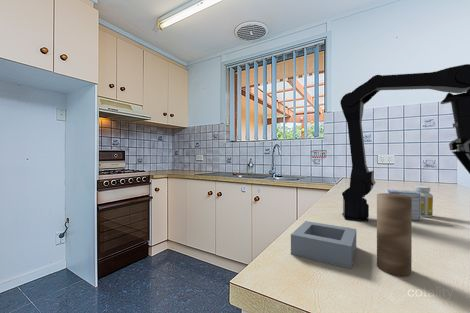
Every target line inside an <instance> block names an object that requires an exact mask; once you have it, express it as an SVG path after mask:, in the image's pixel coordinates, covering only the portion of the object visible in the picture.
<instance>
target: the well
mask: <svg viewBox="0 0 470 313" xmlns="http://www.w3.org/2000/svg"><path fill="white" fill-rule="evenodd" d="M356 251H357V228H352V227H345V226H340V225H334V224H327V223H321V222H315V221H309V220H305V221H304V222H302V224H300V225H299V227H297V228H296V229H295V230H294V231H293V232H292V233H291V234H290V255H293V256H298V257H301V258H306V259H310V260H315V261H317V262H321V263H326V264H330V265H335V266H338V267H342V268H347V269H351V270H352V268H353V264H354V259H355V254H356Z"/></svg>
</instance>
